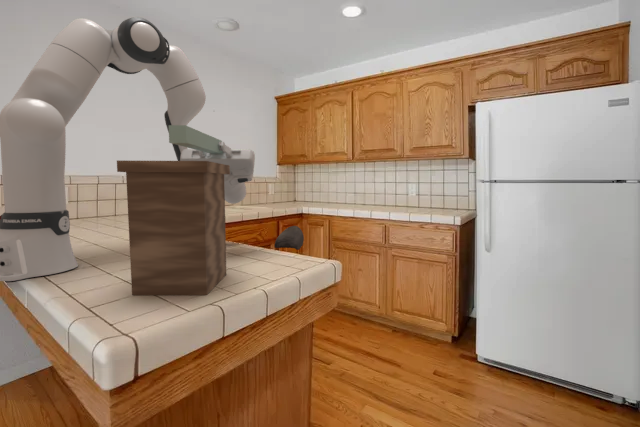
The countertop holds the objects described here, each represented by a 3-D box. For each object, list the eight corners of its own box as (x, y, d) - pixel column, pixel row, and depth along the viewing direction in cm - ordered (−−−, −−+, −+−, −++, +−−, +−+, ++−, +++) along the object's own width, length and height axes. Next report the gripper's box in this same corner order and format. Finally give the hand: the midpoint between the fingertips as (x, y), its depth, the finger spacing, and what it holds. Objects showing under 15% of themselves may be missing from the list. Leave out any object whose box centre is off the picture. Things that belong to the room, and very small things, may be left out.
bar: (186, 142, 67) (185, 125, 66) (169, 142, 66) (168, 125, 66) (222, 153, 92) (222, 141, 92) (210, 153, 92) (209, 140, 92)
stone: (281, 262, 105) (303, 242, 102) (265, 242, 107) (287, 221, 105) (294, 260, 114) (315, 241, 112) (279, 241, 116) (300, 222, 114)
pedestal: (210, 296, 62) (206, 160, 60) (123, 296, 62) (116, 160, 60) (231, 273, 78) (229, 165, 76) (162, 273, 78) (158, 165, 76)
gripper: (191, 162, 102) (173, 134, 89) (258, 162, 102) (250, 134, 89) (188, 180, 99) (169, 153, 86) (257, 180, 99) (248, 153, 87)
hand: (211, 143), depth 88 cm, fingers closed on bar, 3 cm apart
